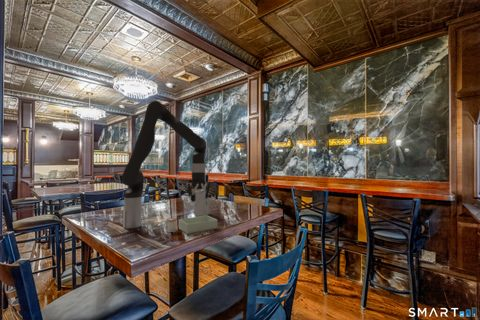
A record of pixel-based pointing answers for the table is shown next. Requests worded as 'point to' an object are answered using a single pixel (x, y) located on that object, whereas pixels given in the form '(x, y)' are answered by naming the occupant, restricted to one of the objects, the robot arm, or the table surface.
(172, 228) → the jar
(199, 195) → the block
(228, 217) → the table surface
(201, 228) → the tote
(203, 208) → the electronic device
